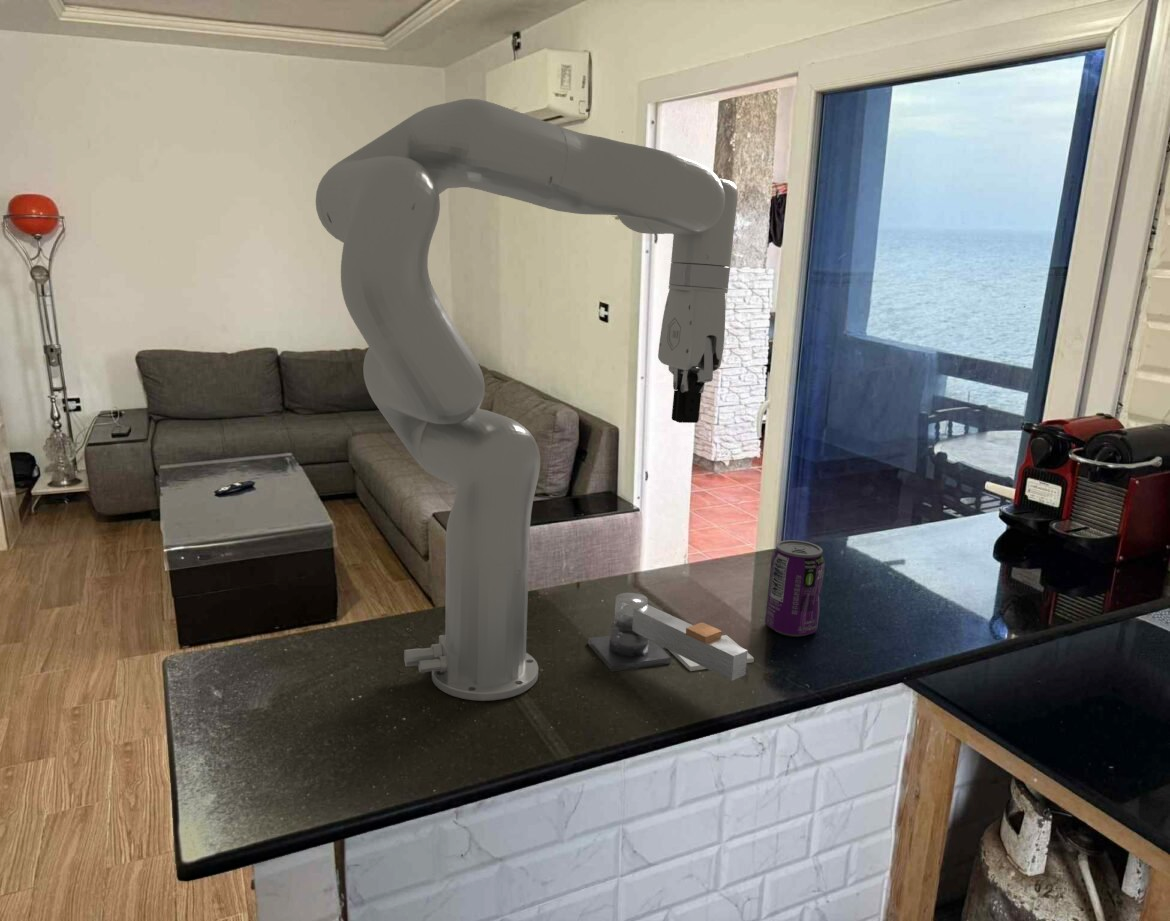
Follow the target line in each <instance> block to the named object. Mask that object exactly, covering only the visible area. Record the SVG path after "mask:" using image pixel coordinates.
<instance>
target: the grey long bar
mask: <svg viewBox="0 0 1170 921" xmlns="http://www.w3.org/2000/svg"><path fill="white" fill-rule="evenodd" d="M614 610H615V611H614V621H613V623H614V624H615V626H616V627H617V628H619V629H622V630H625V631H633V632H635V633H637V634H639V635H641V636H643V637H645V638H647V639H649V640H651V641H653V642H655V643H657V644H658V645H659V646H660V647H662V648H665V649H666V650H668V649H669V650H671V651H673V652H675V653H677V654H679V655H681V656H683V657H685V658H687V659H689V660H691V661H693V662H695V663H697V664H699V665H701V666H703V667H705V668H707V669H706V670H709V671H711V672H713V673H715V674H717V675H719V676H721V677H723V678H725V679H728V680H729V681H730V682H732V681H734V680H738V679H739V678H741V677H744V676H746V673H747V672H746V671H747V664H748V663H747V653H749V652H748V649H745V648H743V647H742V646H740V645H739V646H740V647H739V646H737V645H735V644H733V643H730V642H728V641H726V640H724V639H722V638H721V636H722V635H723V634H722V633H723V632H722V630H720V629H719V628H716V627H714V626H711V625H710V624H707V623H705V622H703V621H702V622H699V623H696V624H694V625H693V624H691V623H689V622H687V621H685V620H683V619H680V618H678V617H676V616H673V615H671V614H669V613H667V612H665V611H663V610H660V609H658V608H656V607H654V606H652V605H650V604H648V597H647V596H645V595H643V594H641V593H637V592H622V593H619V594H617V595H616V596H615V608H614ZM669 650H668V651H669Z"/></svg>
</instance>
